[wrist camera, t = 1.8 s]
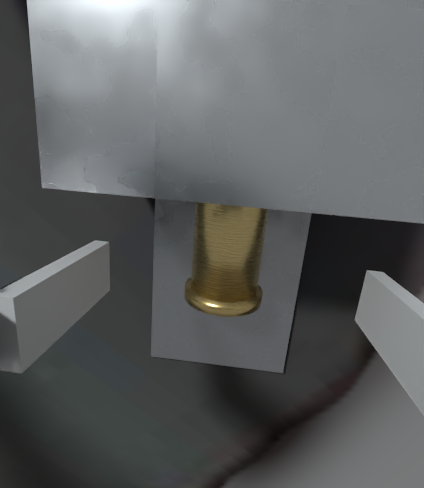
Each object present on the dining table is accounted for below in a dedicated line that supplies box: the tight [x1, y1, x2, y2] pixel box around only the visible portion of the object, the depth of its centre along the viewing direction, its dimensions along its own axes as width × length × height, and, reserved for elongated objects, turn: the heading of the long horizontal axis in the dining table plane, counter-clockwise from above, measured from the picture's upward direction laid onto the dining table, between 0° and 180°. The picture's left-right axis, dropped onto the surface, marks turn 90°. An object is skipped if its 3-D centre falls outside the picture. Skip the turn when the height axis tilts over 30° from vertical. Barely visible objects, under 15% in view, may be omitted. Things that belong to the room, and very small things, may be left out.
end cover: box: [184, 202, 268, 317], centre depth 19 cm, size 6×14×6 cm, turn 175°
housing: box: [27, 0, 424, 373], centre depth 18 cm, size 16×28×11 cm, turn 175°
